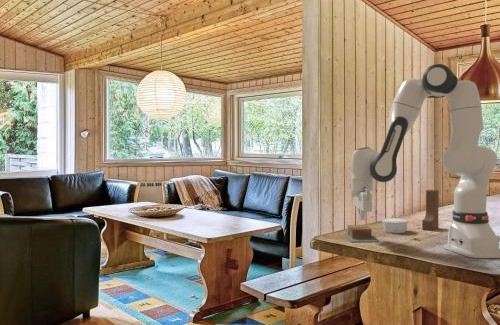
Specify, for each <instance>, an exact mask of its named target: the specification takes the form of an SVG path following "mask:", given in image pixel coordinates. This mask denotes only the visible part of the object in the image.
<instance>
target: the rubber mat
mask: <svg viewBox="0 0 500 325" xmlns="http://www.w3.org/2000/svg"><path fill="white" fill-rule="evenodd" d="M343 235H344V237H345V238H346V239H347V240H348V242H350V243H379V240H377V239H376V238H375V237H373V236H372V235H371V239H352V238H351V237H350V236H349V235H348V232H347V233H345V232H344V233H343Z"/></svg>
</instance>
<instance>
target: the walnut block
mask: <svg viewBox="0 0 500 325" xmlns="http://www.w3.org/2000/svg"><path fill="white" fill-rule="evenodd" d="M347 233H348V235H349V236H350V237H351V238H352V239H371V236H372V228H371V227H369V226H368V225H367V224H347Z"/></svg>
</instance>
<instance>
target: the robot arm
mask: <svg viewBox="0 0 500 325" xmlns="http://www.w3.org/2000/svg"><path fill="white" fill-rule="evenodd" d="M444 97H445V98H446V99H447V102H448V109H449V120H450V121H449V122H450V137H449V141H448V142H449V143H448V147H447V149H446V151H445V152H444V154H443V156H442V159H441V160H442V162H441V163H442V166H443V168H444V170H445V171H446V172H448V173H450V174H452V175H455V176H460V177H459V182H458V183H457V186H455V188H454V191H453V210H452V213H451V214H452V215H451V216H452V220H453V221H452V223H451V224H450V225H449V227H448V234H447V236H448V237H447V244H444V247H443V249H446V250H449V251H451V252H454V253H456V254H459V255H462V256H464V257H468V258H476V259H500V235H497V234H496V233H495V232H494V230H493V228H492V227H491V225H490V218H489V217H490V216H489V214H488V212H487V193H488V186H489V183H490V179H491V175H492V172H493V170H494V169H495V168H496V166H497V164H498V156H497V153H496V152H495V151H494V150H493V149H492V148H489V147H487V146H484V145H479V140H480V136H481V133H482V132H483V129H484V122H483V121H484V119H483V110H482V103H481V101H482V100H481V97H480V93H479V90H478V87H477V84H476V83H475V82H474V81H471V80H465V79H464V80H459V78H458V77H457V76H456V75H455V73H454V72H453V70H452V69H451V68H450V67H449V66H448V65H445V64H442V63H436V64H432V65H430V66H429V67H427V68H426V69H425V71H424V72H423V74H422V78H420V79H416V78H407V79H405V80H403V82H402V83H401V85H400V87H399V88H398V90H397V92H396V94H395V96H394V99H393V101H392V104H391V107H390V110H389V117H388V130H387V133H386V137H385V140H384V142H383V145H382V147H381V150H380V152H378V151H376V150H374V149H373V148H371V146H369V147H368V146H367V147H360V148H356V149H354V151H353V152H352V153H351V160H350V161H351V162H350V170H351V177H350V186H349V187H350V191H351V201H352V205H353V206H354V207H356V208H357V212H358V219H359V220H361V221H364V220H366V213H370V212H372V210H373V199H372V192H373V191H374V180H375V181H377V182H380V183H387V182H390V181H391V180H393V179H394V178H395V177H396V175H397V171H398V165H397V158H398V154H399V152H400V150H401V146H402V144H403V141H404V139H405V136H406V135H407V133H408V132H409V131H410V129H411V128H412V127H413V125H414V124H416V123H415V122H416V121H417V118H418V117H419V114H420V112H421V109H422V106H423V104H424V101H425V100H426V99H432V98H433V99H438V98H439V99H440V98H444Z"/></svg>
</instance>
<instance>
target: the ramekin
mask: <svg viewBox="0 0 500 325" xmlns="http://www.w3.org/2000/svg"><path fill="white" fill-rule="evenodd" d="M381 222H382V225H383V230H384V232H386V233H389V234H404V233H406V232H407V227H408V223H409V221H408V219H404V218H399V217H398V218H397V217H394V218H392V217H388V218H383V219H382V220H381Z"/></svg>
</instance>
